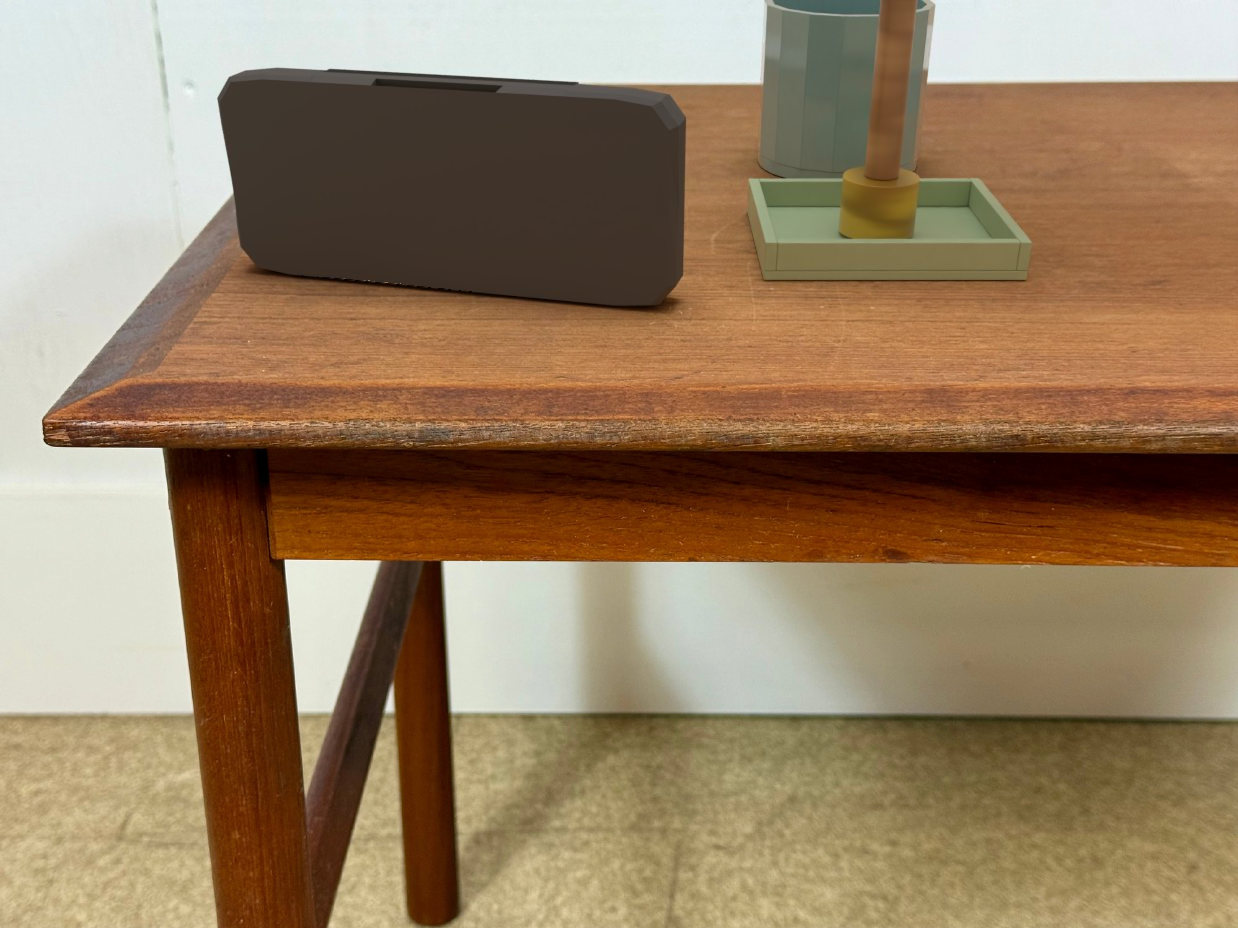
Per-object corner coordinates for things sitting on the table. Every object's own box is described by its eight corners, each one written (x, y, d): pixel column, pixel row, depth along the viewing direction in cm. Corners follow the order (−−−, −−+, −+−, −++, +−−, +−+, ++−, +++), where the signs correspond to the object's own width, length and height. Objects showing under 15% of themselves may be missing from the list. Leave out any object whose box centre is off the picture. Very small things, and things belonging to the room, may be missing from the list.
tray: (975, 211, 73) (979, 178, 72) (1027, 280, 64) (1032, 242, 63) (746, 212, 74) (748, 178, 73) (763, 280, 64) (765, 242, 63)
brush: (906, 219, 70) (946, -141, 61) (920, 243, 66) (964, -136, 58) (833, 219, 70) (863, -141, 61) (843, 243, 67) (877, -136, 58)
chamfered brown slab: (686, 293, 62) (690, 86, 57) (673, 314, 60) (677, 99, 55) (265, 255, 68) (237, 62, 63) (239, 272, 65) (207, 73, 60)
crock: (900, 142, 87) (916, -12, 82) (930, 185, 78) (950, 15, 73) (752, 143, 87) (758, -11, 82) (764, 185, 78) (773, 16, 73)
